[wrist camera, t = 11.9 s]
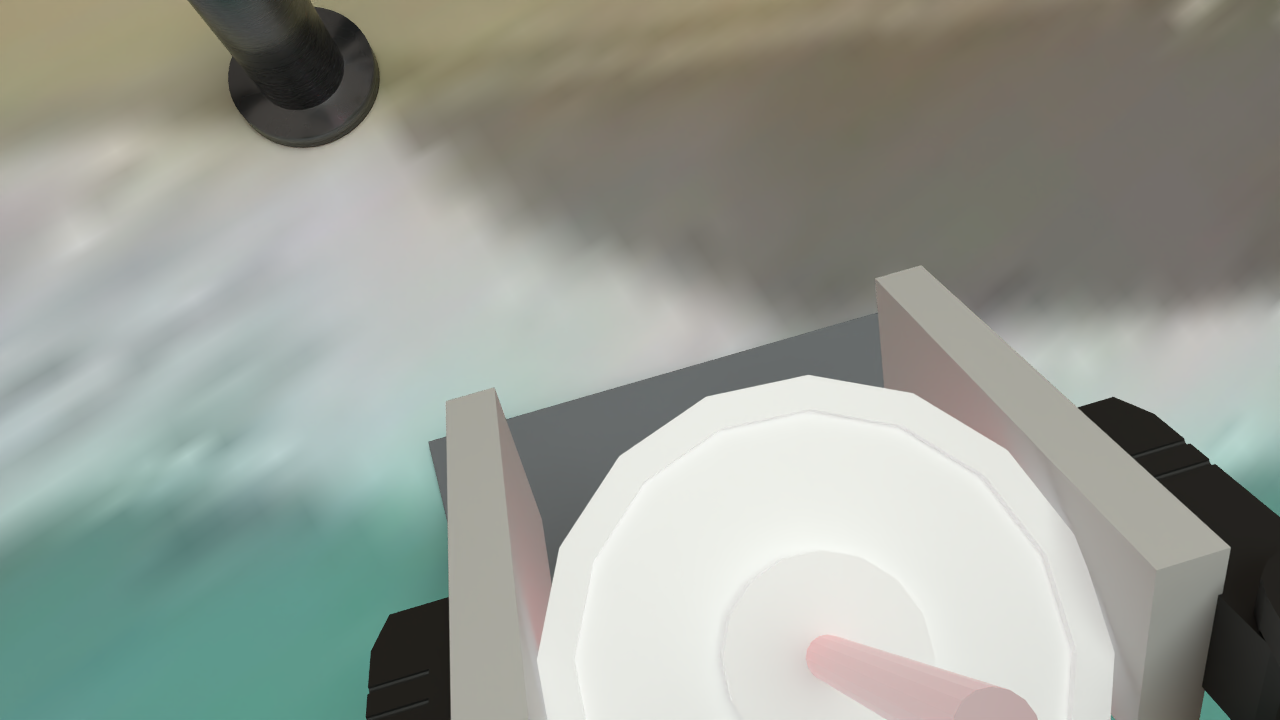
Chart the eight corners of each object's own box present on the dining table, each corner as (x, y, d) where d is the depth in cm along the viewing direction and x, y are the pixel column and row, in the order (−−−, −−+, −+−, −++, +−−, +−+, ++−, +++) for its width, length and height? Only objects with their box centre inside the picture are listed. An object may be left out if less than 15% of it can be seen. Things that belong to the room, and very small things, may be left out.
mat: (553, 950, 21) (551, 957, 20) (431, 444, 23) (428, 441, 23) (1050, 791, 21) (1058, 795, 21) (876, 316, 24) (880, 311, 24)
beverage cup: (591, 470, 19) (439, 204, 6) (885, 465, 19) (1453, 185, 6) (592, 786, 18) (390, 1462, 4) (908, 782, 18) (1758, 1458, 4)
